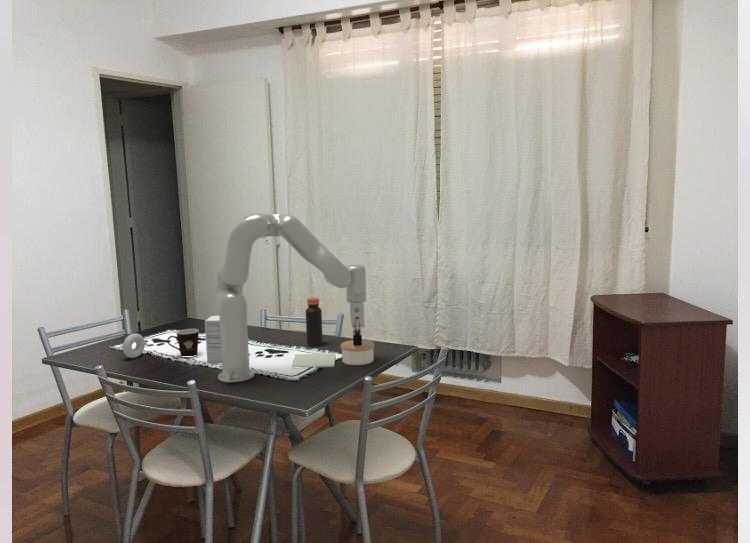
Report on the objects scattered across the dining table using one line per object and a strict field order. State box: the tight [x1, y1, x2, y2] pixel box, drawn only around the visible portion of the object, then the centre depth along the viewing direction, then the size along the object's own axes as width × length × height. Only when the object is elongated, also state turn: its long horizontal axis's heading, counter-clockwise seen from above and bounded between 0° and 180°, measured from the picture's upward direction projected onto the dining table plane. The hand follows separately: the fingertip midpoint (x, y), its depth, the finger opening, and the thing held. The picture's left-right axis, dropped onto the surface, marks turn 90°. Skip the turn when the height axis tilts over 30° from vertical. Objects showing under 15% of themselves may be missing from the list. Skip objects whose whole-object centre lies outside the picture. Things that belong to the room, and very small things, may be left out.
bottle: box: [305, 297, 324, 347], centre depth 249 cm, size 7×7×20 cm
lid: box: [340, 331, 375, 351], centre depth 225 cm, size 13×13×6 cm
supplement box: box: [204, 315, 222, 363], centre depth 230 cm, size 10×9×17 cm
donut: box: [122, 333, 146, 359], centre depth 235 cm, size 10×4×10 cm, turn 154°
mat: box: [291, 352, 336, 368], centre depth 226 cm, size 16×16×1 cm
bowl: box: [341, 348, 375, 366], centre depth 226 cm, size 12×12×6 cm
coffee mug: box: [166, 328, 200, 357], centre depth 237 cm, size 12×9×10 cm
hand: (357, 342), depth 225 cm, fingers open, 5 cm apart
